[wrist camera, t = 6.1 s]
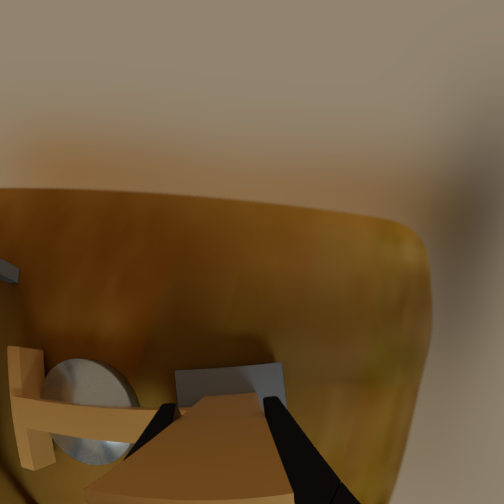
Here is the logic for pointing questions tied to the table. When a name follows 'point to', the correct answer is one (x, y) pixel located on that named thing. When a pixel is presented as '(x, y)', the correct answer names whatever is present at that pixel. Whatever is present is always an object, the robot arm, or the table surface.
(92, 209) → the table surface
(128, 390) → the silver metal disc
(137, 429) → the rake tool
